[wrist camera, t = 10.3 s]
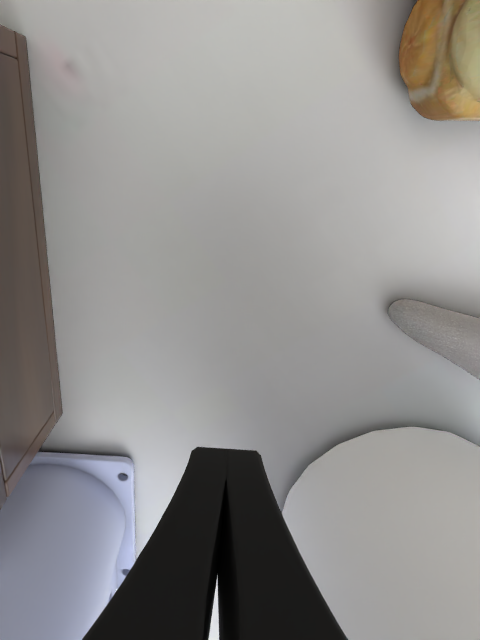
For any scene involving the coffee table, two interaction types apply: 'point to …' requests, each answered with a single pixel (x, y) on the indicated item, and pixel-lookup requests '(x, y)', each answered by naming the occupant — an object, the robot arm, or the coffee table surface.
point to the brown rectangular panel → (2, 490)
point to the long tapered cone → (441, 331)
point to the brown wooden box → (23, 277)
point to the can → (394, 534)
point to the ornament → (443, 59)
